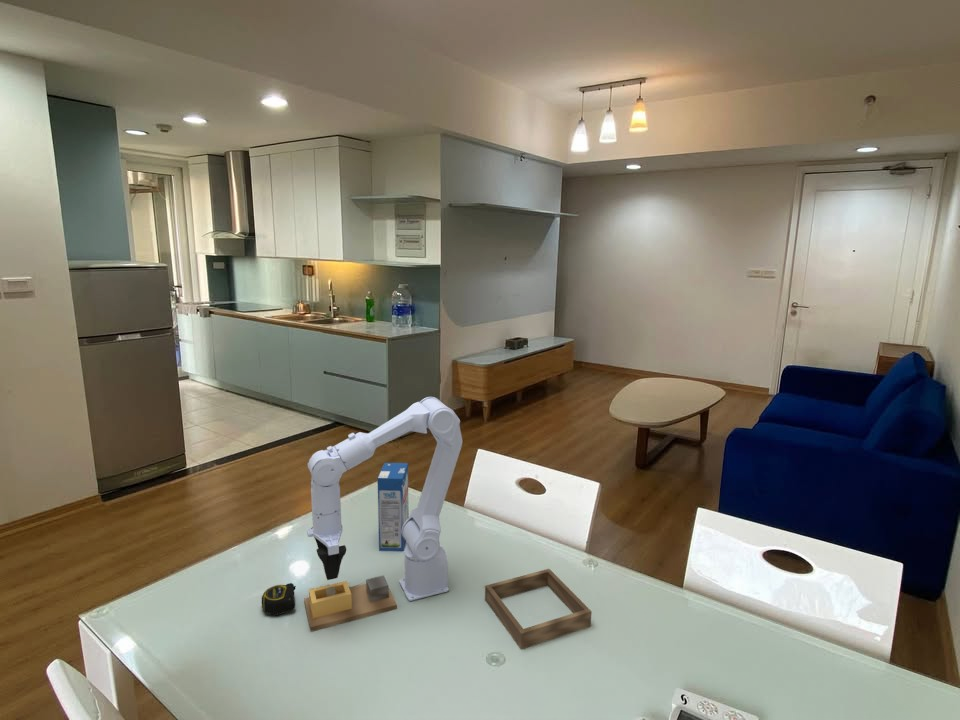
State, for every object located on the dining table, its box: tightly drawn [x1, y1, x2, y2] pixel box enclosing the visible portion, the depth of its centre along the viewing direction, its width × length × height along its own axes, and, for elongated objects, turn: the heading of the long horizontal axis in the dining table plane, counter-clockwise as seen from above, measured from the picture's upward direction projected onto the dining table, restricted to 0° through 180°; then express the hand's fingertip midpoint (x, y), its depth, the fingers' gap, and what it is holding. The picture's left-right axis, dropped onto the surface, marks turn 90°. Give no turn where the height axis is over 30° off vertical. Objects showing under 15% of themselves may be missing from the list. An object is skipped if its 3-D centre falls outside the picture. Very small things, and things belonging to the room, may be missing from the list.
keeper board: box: [303, 575, 398, 632], centre depth 117 cm, size 18×10×5 cm, turn 115°
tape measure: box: [261, 582, 297, 616], centre depth 116 cm, size 7×7×4 cm
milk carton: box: [377, 462, 410, 552], centre depth 141 cm, size 10×6×20 cm, turn 179°
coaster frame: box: [484, 568, 592, 650], centre depth 116 cm, size 16×16×4 cm
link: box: [308, 580, 352, 618], centre depth 115 cm, size 8×5×4 cm, turn 114°
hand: (329, 568), depth 114 cm, fingers open, 7 cm apart
